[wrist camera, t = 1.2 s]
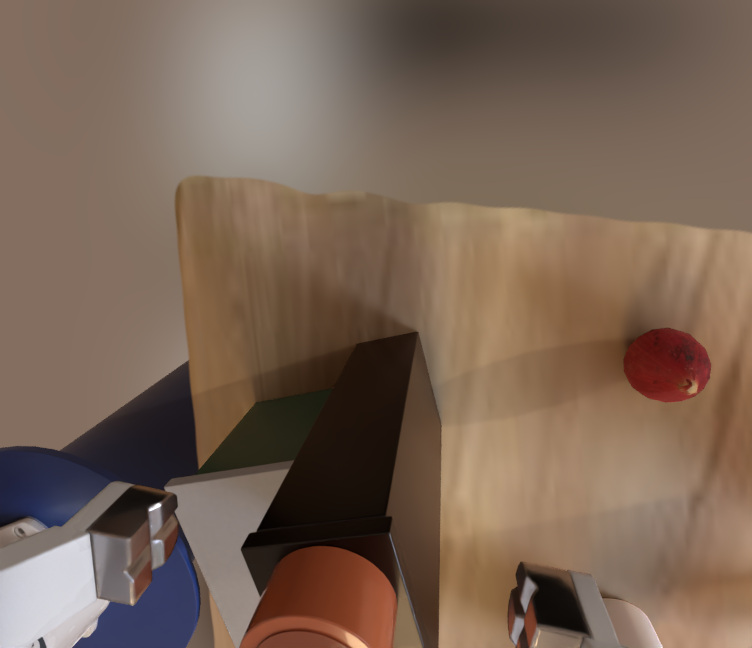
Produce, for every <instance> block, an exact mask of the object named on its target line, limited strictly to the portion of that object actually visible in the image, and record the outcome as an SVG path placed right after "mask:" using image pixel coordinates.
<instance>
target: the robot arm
mask: <svg viewBox="0 0 752 648" xmlns="http://www.w3.org/2000/svg"><path fill="white" fill-rule="evenodd" d="M177 508H178V500H177V495H176V494H174V493H172V492H167V491H163V490H158V489H154V488H149V487H145V486H141V485H134V484H129V483H125V482H121V481H115V482H112V483H110V484H109V485H108V486H106V487H105V488H104V489H103V490H102V491H101V492H100V493H99V494H98V495H96V496H95V497H94V498H93V499H92V500H91V501H90V502H89V503H88V504H86V505H85V506H84V507H83V508H82V509H81V510H80V511H79V512H78V513H76V514H75V515H74V516H73V517H72V518H71V519H70V520H69V521H68V522H66V523H65V524H64V525H63V526H62V527H59V526H54V527H51V528H48V527H47V526H46V525H45V524H43V523H42V522H41V521H39V520H38V519H36V518H34V517H31V516H27V517H24V518H22V519H19V520H17V521H14V522H11V523H9V524H6V525H4V526H1V527H0V648H72V647H73V645H74V644H75V643H76V642H77V641H78V640H79V639H80V638H81V637H88V636H90V635H91V634H92V632H93V631H94V630H95V629H96V627H97V622H98V617H99V616H100V614H101V613H102V612H103V611H104V610H105V609H106V608H107V606H108V604H109V602H110V601H113V602H118V603H123V604H128V605H133V606H134V604H135V603H136V602H137V600H138V599H139V598H140V596H141V595H142V594H143V592H144V591H145V589H146V588H147V587H148V585H149V584H150V583H151V581H152V570H154V569H156V568H158V567H160V566H161V565H163V564H164V563H165V562H166V561H167V559H168V558H169V556H170V555H171V553H172V551H173V549H174V546H175V544H176V542H177V537H178V532H179V522H178V521H177V519H176V518H175V516H174V515H173V513H174V511H175V510H176V509H177ZM516 580H517V587H515V588H514V589H512V590H511V594H510V599H509V604H508V630H509V638H510V640H511V641H512V642H513V644H514V645H515V646H516V648H628V647H626V646H622V645H620V643H619V640H618V638H617V635H616V633H615V630H614V627H613V625H612V622H611V620H610V617H609V615H608V612H607V609H606V607H605V604H604V602H603V599H602V596H601V594H600V591H599V589H598V586H597V584H596V581H595V578H594V577H593V576H592V575H591V574H587V573H581V572H576V571H570V570H567V571H566V570H563V569H558V568H553V567H548V566H542V565H537V564H532V563H526V562H520V564H519V565H518V568H517V572H516Z"/></svg>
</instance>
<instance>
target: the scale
mask: <svg viewBox="0 0 752 648" xmlns="http://www.w3.org/2000/svg"><path fill="white" fill-rule="evenodd" d="M332 389H333V388H332ZM332 389H327V390H321V391H316V392H311V393H305V394H300V395H294V396H289V397H284V398H278V399H273V400H267V401H262V402H256V403H255V404H254V406H253V407H252V408H251V409H250V410H249V412H248V413H247V414H246V415H245V416H244V417H243V419H242V420H241V421H240V422H239V423H238V425H237V426H236V427H235V428H234V429H233V430H232V432H231V433H230V434H229V435H228V436H227V438H226V439H225V440H224V441H223V442H222V443H221V445H220V446H219V447H218V448H217V449H216V450H215V452H214V453H213V454H212V455H211V456H210V458H209V459H208V460H207V461H206V462H205V463H204V465H203V466H202V467H201V468H200V469H199V471H198V472H197V473H196V474H195V475H194V476H187V477H180V478H174V479H171V480H170V481H169V482H168V483H167V484H166V485H165V487H164V488H165V491H167V492H172V493H174V494H176V495H177V500H178V508H177V509H176V510H175V513H176V515H177V518H178V520H179V522H180V524H181V527H182V529H183V531H184V533H185V536H186V538H187V540H188V542H189V544H190V547H191V549H192V551H193V553H194V556H195V558H196V560H197V562H198V565H199V567H200V569H201V571H202V574H203V576H204V578H205V580H206V583H207V585H208V587H209V589H210V592H211V594H212V596H213V598H214V601H215V603H216V605H217V607H218V610H219V612H220V614H221V616H222V619H223V621H224V623H225V625H226V628H227V630H228V632H229V634H230V637H231V639H232V641H233V643H234V645H235V648H239V646H240V643H241V640H242V638H243V636H244V634H245V631H246V629H247V627H248V625H249V622H250V620H251V618H252V615H253V613H254V611H255V609H256V606H257V604H258V602H259V600H260V596H259V594H258V591H257V589H256V586H255V584H254V582H253V579H252V577H251V574H250V572H249V569H248V567H247V565H246V562H245V560H244V557H243V555H242V552H241V547H242V545H243V543H244V542H245V540H246V538H247V536H248V534H249V533H252V532H256V531H257V528H258V527H259V525H260V523H261V521H262V519H263V517H264V515H265V514H266V512H267V510H268V508H269V506H270V504H271V502H272V501H273V499H274V497H275V495H276V493H277V491H278V489H279V488H280V486H281V484H282V482H283V480H284V478H285V476H286V475H287V473H288V471H289V469H290V467H291V465H292V463H293V462H294V460H295V458H296V456H297V454H298V452H299V450H300V448H301V447H302V445H303V443H304V441H305V439H306V437H307V435H308V434H309V432H310V430H311V428H312V426H313V424H314V422H315V421H316V419H317V417H318V415H319V413H320V411H321V409H322V408H323V406H324V404H325V402H326V400H327V398H328V396H329V395H330V393H331V391H332Z"/></svg>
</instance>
